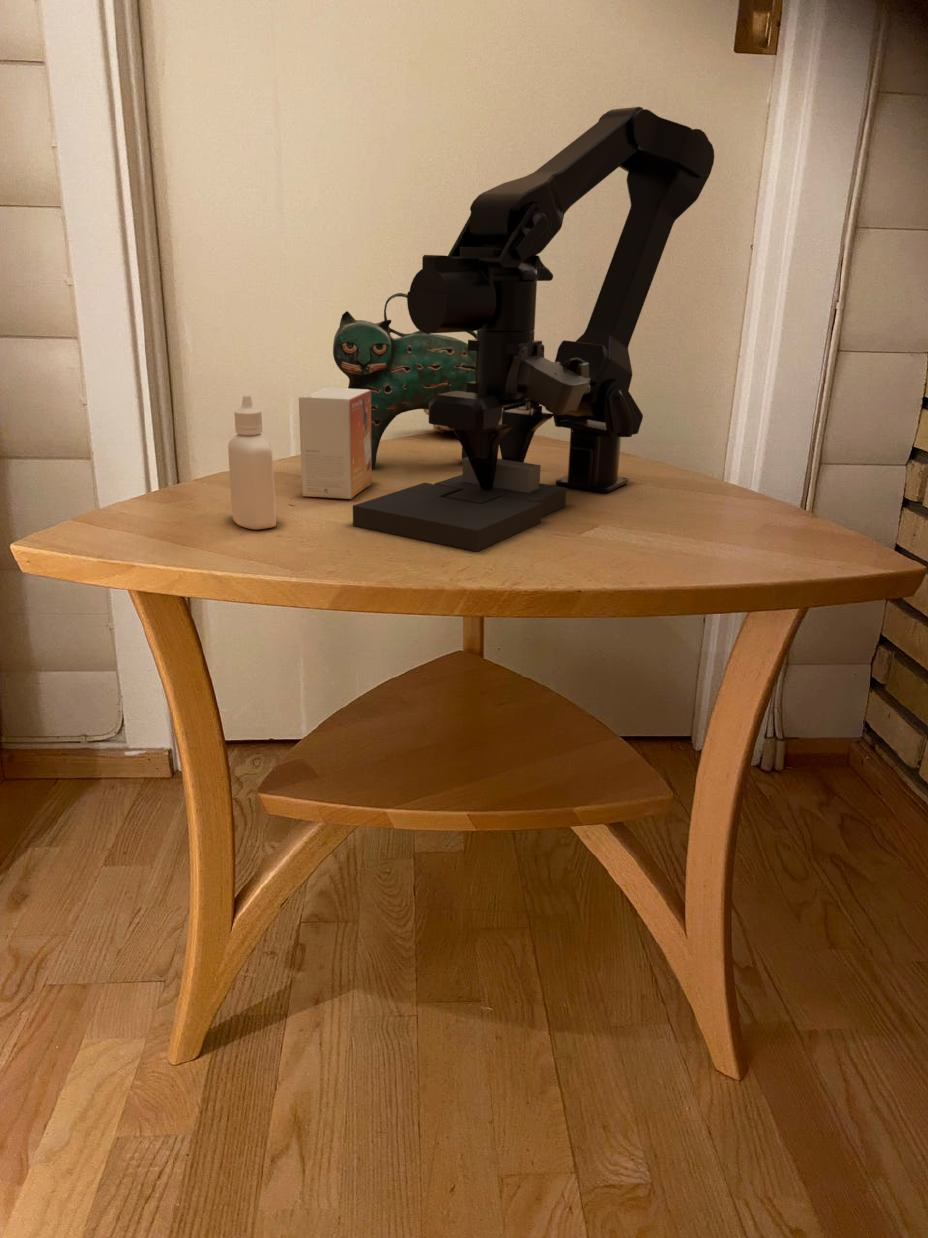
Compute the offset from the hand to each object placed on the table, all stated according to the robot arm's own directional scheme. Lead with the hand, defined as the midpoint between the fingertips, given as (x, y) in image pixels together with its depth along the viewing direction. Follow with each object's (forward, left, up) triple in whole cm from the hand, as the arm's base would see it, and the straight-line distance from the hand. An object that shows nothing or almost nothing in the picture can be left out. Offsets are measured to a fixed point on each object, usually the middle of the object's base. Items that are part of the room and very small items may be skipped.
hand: (499, 485), depth 100 cm
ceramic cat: (-10, -18, -2) cm, 21 cm away
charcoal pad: (+10, 0, -2) cm, 10 cm away
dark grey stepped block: (+2, 0, -2) cm, 3 cm away
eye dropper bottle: (+21, -15, -2) cm, 26 cm away
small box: (+6, -17, -2) cm, 18 cm away
